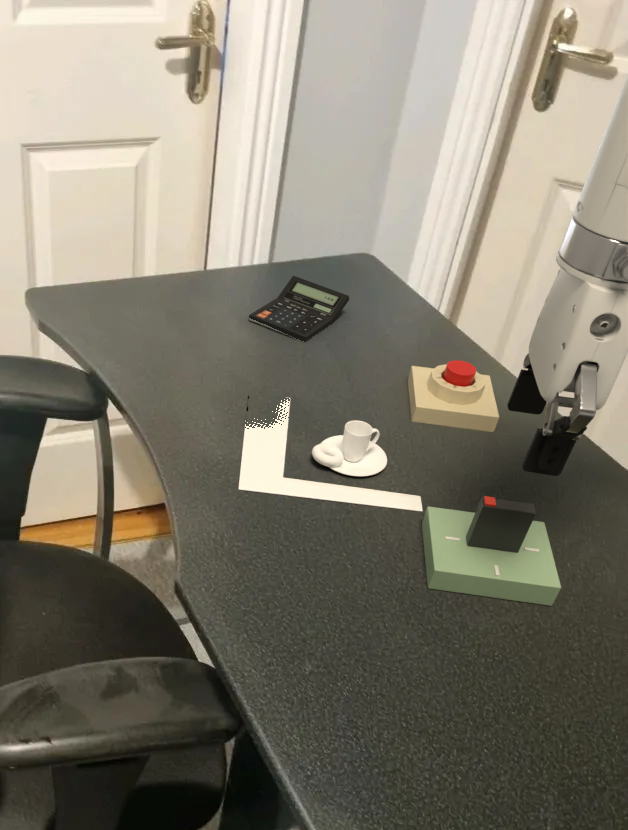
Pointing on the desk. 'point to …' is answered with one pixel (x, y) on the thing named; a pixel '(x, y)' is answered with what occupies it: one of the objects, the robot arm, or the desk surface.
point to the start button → (459, 373)
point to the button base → (451, 400)
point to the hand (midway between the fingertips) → (531, 440)
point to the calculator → (302, 309)
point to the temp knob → (500, 524)
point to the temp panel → (487, 561)
